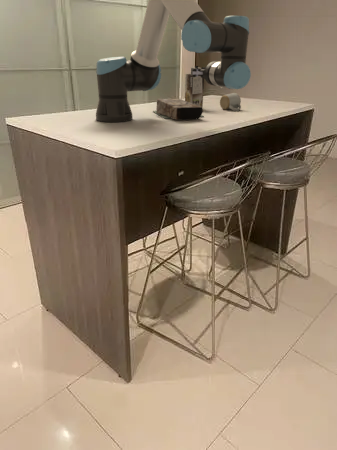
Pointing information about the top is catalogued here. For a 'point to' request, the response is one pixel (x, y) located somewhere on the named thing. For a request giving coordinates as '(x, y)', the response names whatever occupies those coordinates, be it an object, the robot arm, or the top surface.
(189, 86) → the coffee box
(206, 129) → the top surface
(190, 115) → the stone block
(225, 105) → the ceramic mug
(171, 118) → the rubber mat
